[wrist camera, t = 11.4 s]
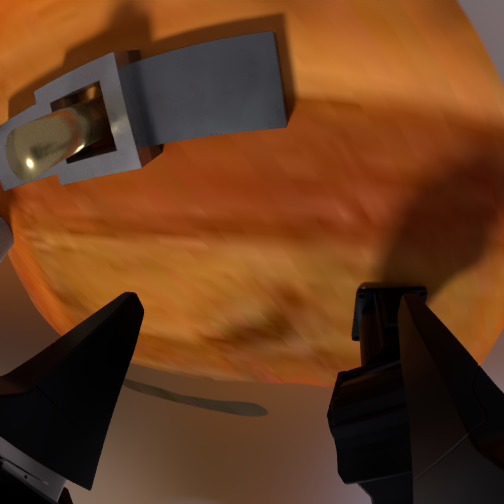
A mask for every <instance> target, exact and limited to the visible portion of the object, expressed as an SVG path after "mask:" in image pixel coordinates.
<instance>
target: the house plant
mask: <svg viewBox="0 0 504 504" xmlns="http://www.w3.org/2000/svg"><path fill="white" fill-rule="evenodd" d="M12 246H13V235H12V232H11V230H10V228H9V226H8V224H7V223H6V222H5V220H4V219H3V218H2V217H1V216H0V262H1V261H2V259H3V258H4V257H5V255H6V254H7V252H8V251H9V250H10V248H11V247H12Z"/></svg>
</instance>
